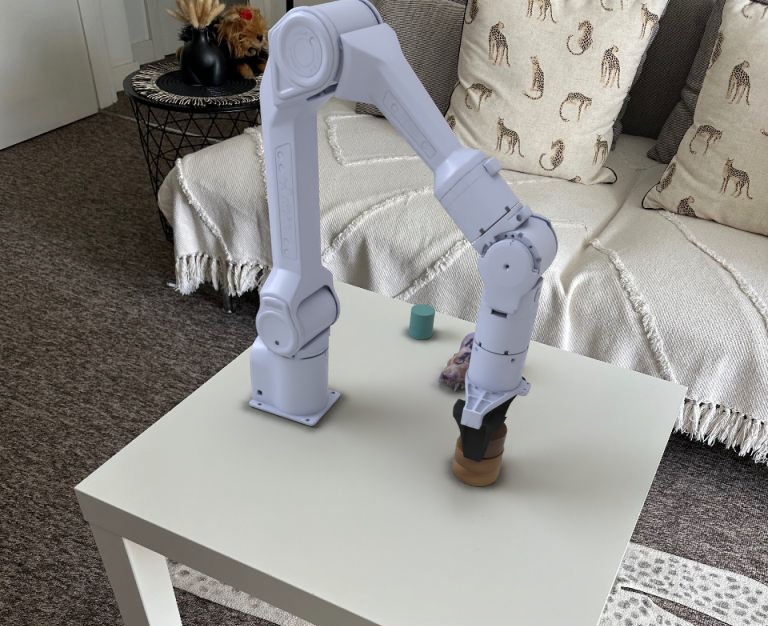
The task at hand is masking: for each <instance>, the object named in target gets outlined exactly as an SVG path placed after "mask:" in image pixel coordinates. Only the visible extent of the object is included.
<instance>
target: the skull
mask: <svg viewBox="0 0 768 626" xmlns="http://www.w3.org/2000/svg"><path fill="white" fill-rule="evenodd" d="M474 336H475V331H473V332H470V333H468V334H467V335H465V337H464V338H462V341H461V343H460V347H459V349H458V351H457V352H456V353H454V354H453V356H452V357H451V358H449V359H448V361H447V362H446V367H444V369H443V370H442V371H441V373H440V375H439V376H438V383H442V381H443V382H444V383H446V385H447V386H450V387H451V386H452V385H453V384H454V388H453V392H456V391H457V389H458V387H459V386H460V385H461V388H460V390H463V389H465V376H466V372H467V370H468V368H469V364H470V358H471V352H472V346H473V341H474Z"/></svg>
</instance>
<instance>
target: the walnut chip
mask: <svg viewBox="0 0 768 626" xmlns="http://www.w3.org/2000/svg"><path fill="white" fill-rule="evenodd" d="M507 435H508V426H507V424H506V423H505V422H504V423H503V425H502V426H501V428H500V429H499V430H498V431H497V432H496V433H495V434H494V435H493V436H492V438H491V441H490V443H489V446H488V448H487V450H486V453H485V455H484V456H483V458H490V457H494V456H497V455H499V454H500V453H501V452H502V450H503V447H504V448H505V443H506V439H507ZM459 436H460V438H459V444H460V446H461V448H462V442H461V434H459Z"/></svg>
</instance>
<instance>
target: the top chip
mask: <svg viewBox="0 0 768 626" xmlns="http://www.w3.org/2000/svg"><path fill="white" fill-rule="evenodd" d="M459 438H460V435H459V436H458V437H457V438H456V443H455V449H454V455H453V458H454V457H455V460H456V462H457V463H458V465H459V466H461V467H462V468H464V469H465V470H467V471H470V472H474V473H489V472H492V471H495V470H496V469H498V467H499V466H500V467H501V465H502V460H503V457H504V452H505V446H504V447H503V450H502V452H501V453H500V454H499V455H497V456H494V457H490V458H482V460H481V461H480V462H476V461H473V460H470V459H467V458H464V457H463V451H462V448H461V446H460V444H459Z"/></svg>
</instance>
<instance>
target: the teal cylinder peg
mask: <svg viewBox="0 0 768 626" xmlns="http://www.w3.org/2000/svg"><path fill="white" fill-rule="evenodd" d="M435 316H436V309H435V308H434V307H433V306H431V305H430V304H425V303H418V304H414V305H412V307H411V308H410V316H409V326H408V327H409V328H408V334H409V336H410V337H411V338H413V339H415V340H420V341H421V340H422V341H423V340H428V339H431V337H433V334H434V333H433V332H434V324H435Z"/></svg>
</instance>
